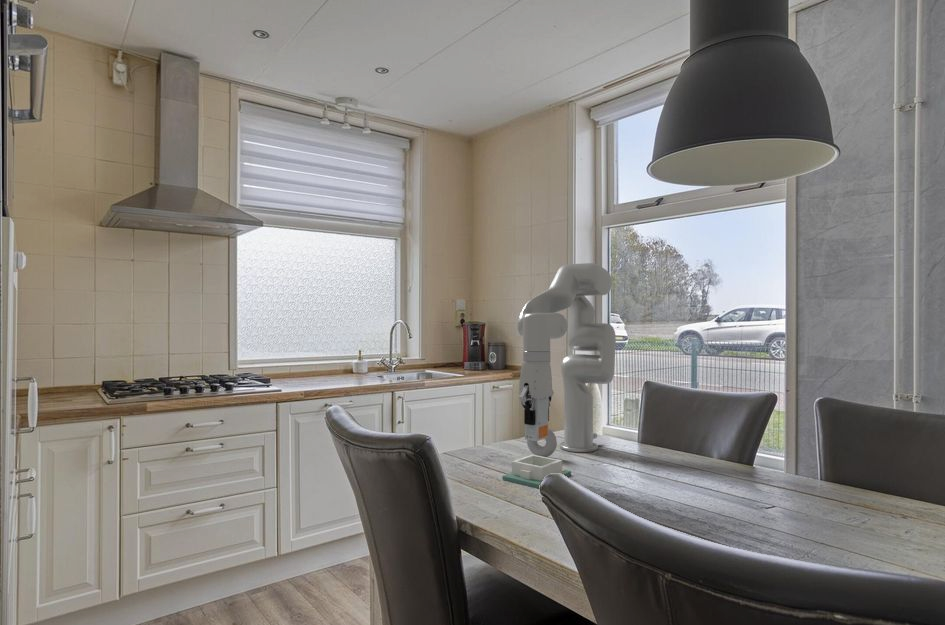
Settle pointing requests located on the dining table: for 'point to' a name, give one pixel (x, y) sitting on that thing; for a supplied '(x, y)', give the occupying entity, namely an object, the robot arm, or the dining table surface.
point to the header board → (534, 470)
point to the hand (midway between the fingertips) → (536, 422)
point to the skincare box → (538, 421)
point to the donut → (545, 450)
